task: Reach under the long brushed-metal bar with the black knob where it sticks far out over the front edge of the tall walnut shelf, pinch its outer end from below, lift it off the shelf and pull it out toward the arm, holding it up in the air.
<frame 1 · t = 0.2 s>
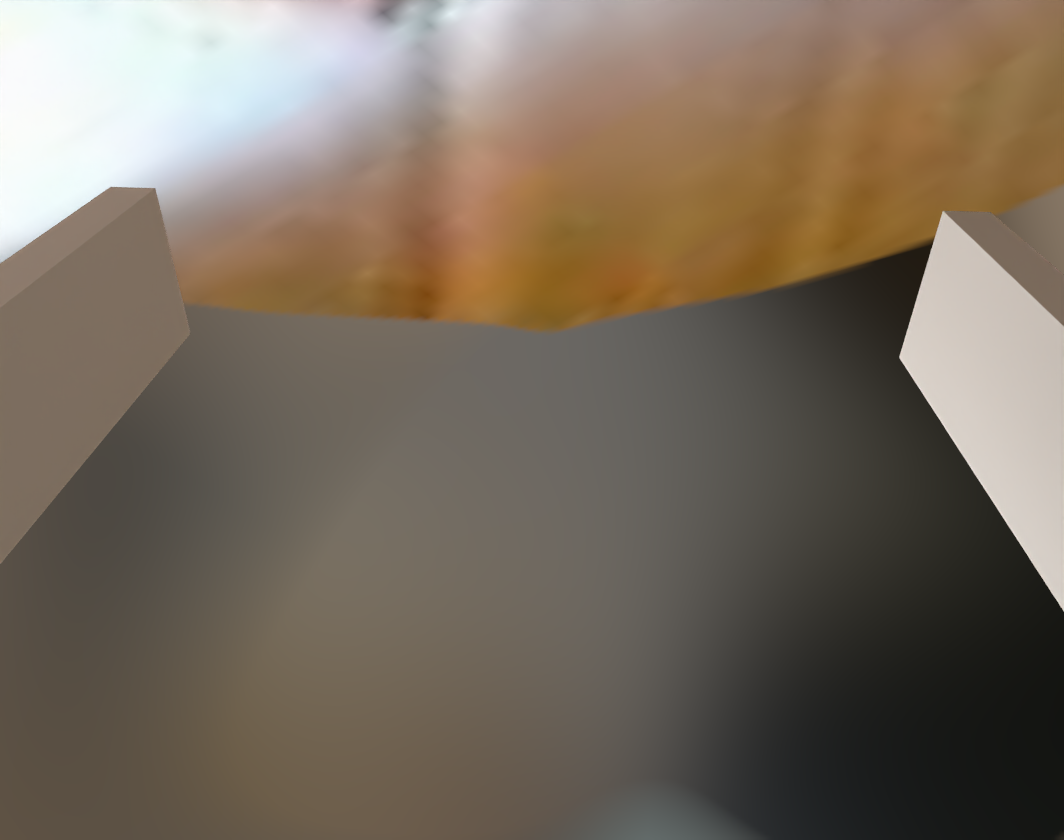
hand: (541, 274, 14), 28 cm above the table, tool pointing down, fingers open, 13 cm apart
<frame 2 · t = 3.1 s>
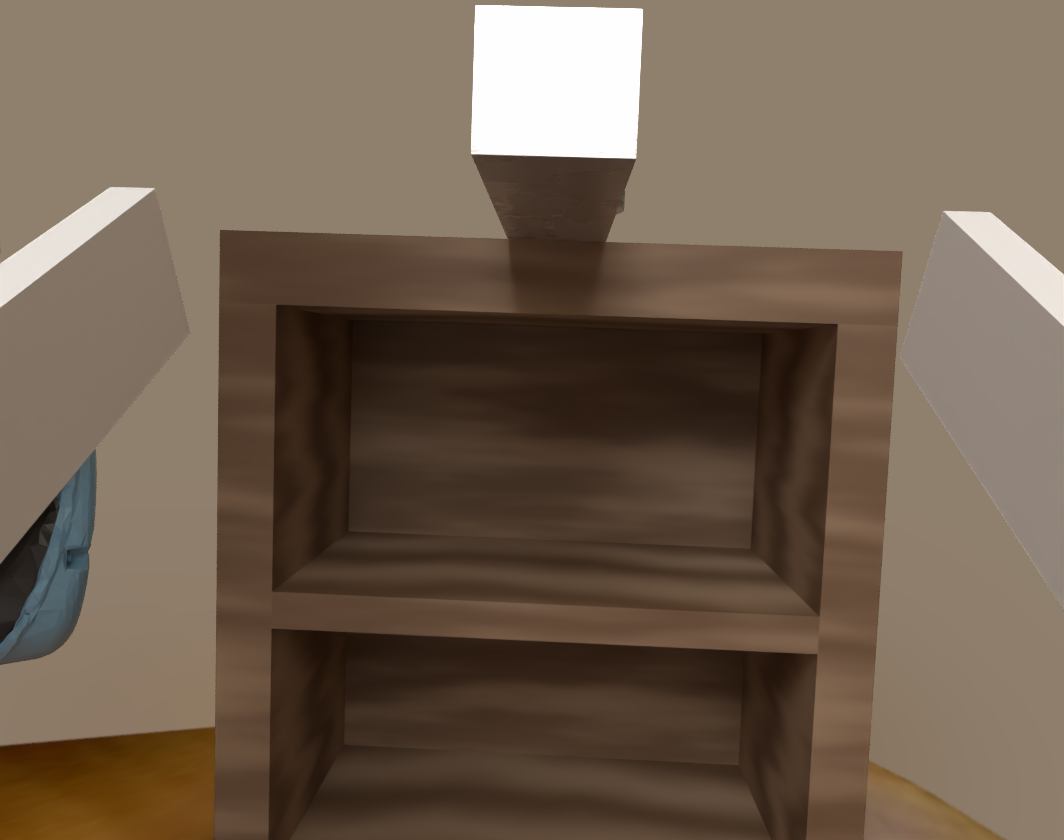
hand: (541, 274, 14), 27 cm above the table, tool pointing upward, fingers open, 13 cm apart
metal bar: (556, 244, 35), point 30 cm above the table, touching walnut shelf
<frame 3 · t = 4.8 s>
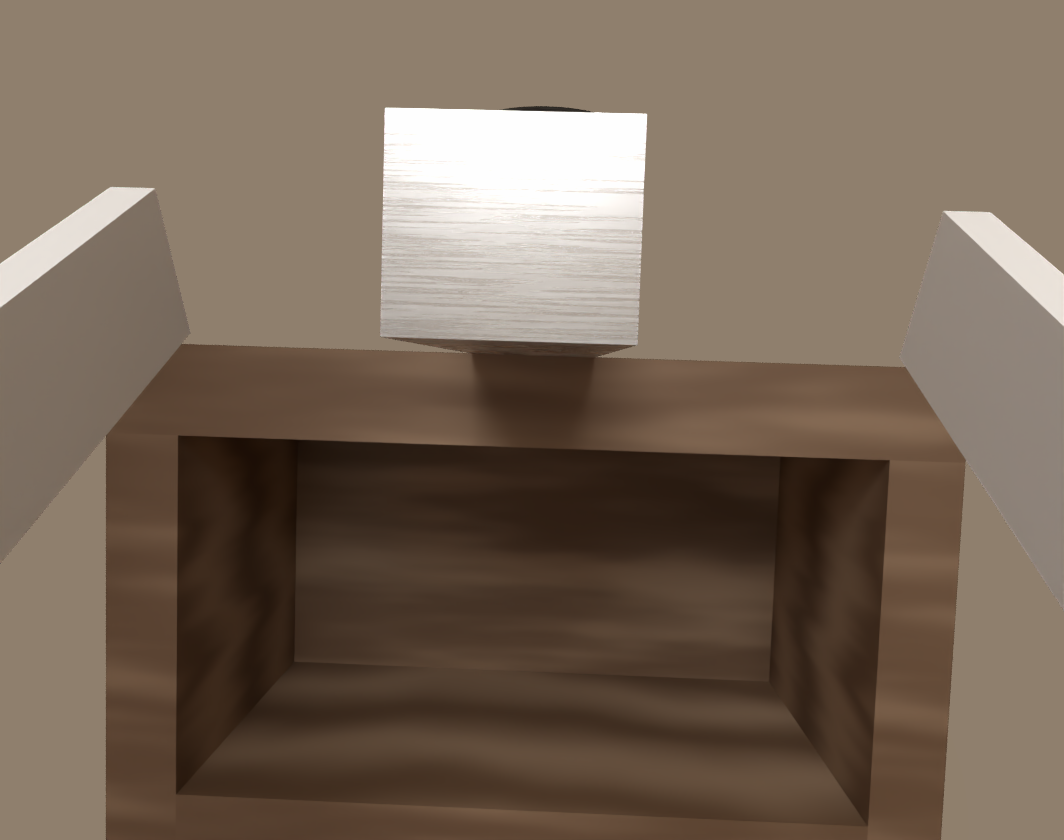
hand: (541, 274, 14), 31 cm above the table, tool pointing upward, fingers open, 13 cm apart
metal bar: (533, 355, 28), point 30 cm above the table, touching walnut shelf
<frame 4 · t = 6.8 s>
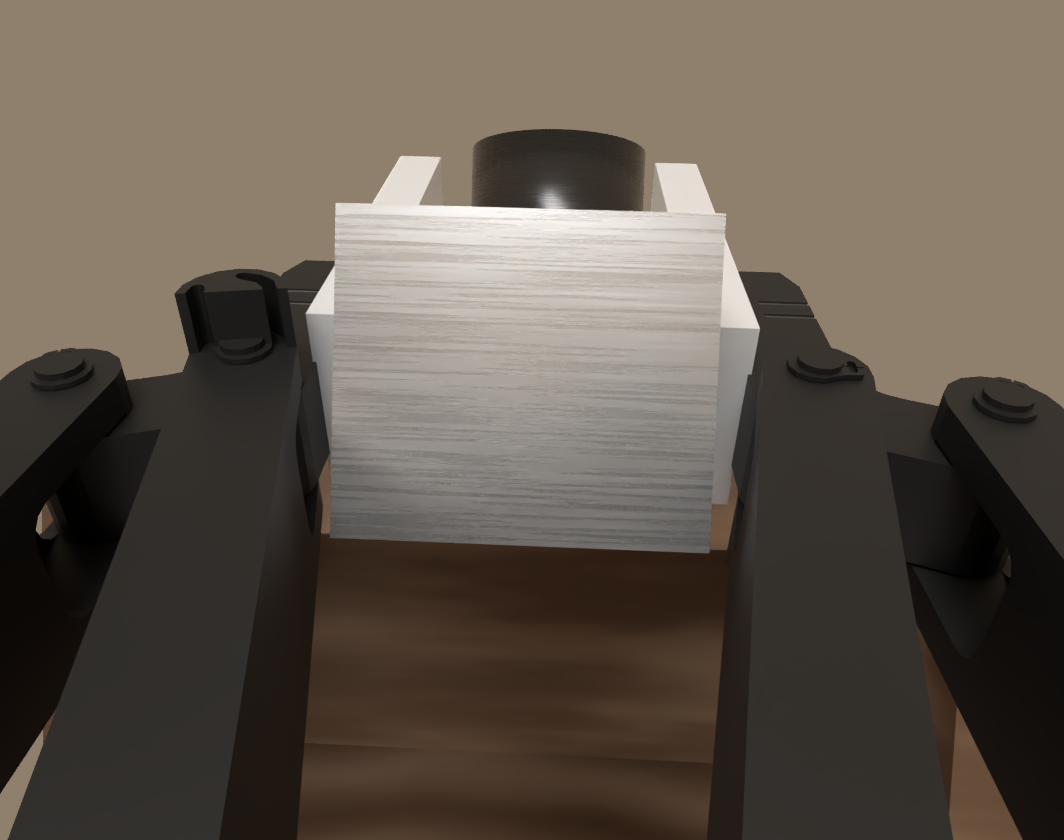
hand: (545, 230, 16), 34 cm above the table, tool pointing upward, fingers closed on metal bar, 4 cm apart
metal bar: (544, 431, 24), point 30 cm above the table, touching gripper, walnut shelf
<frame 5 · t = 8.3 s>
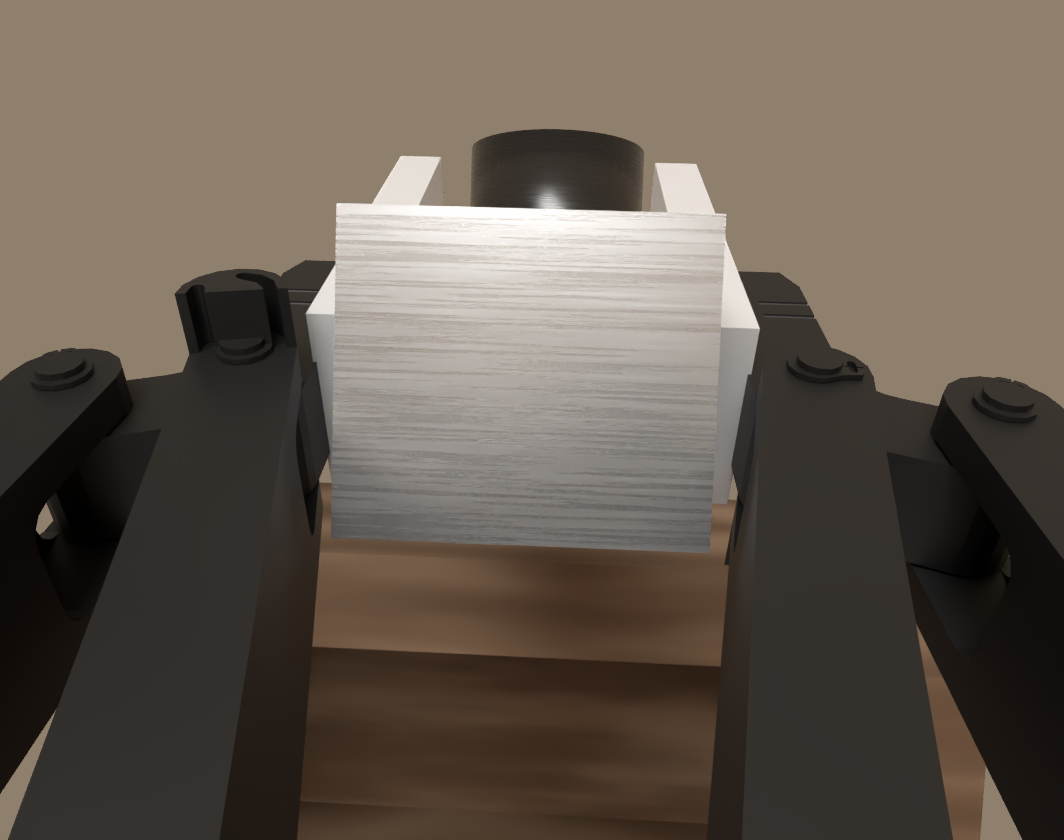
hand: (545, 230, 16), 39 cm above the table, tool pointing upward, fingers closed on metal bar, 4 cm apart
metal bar: (544, 431, 24), point 34 cm above the table, touching gripper
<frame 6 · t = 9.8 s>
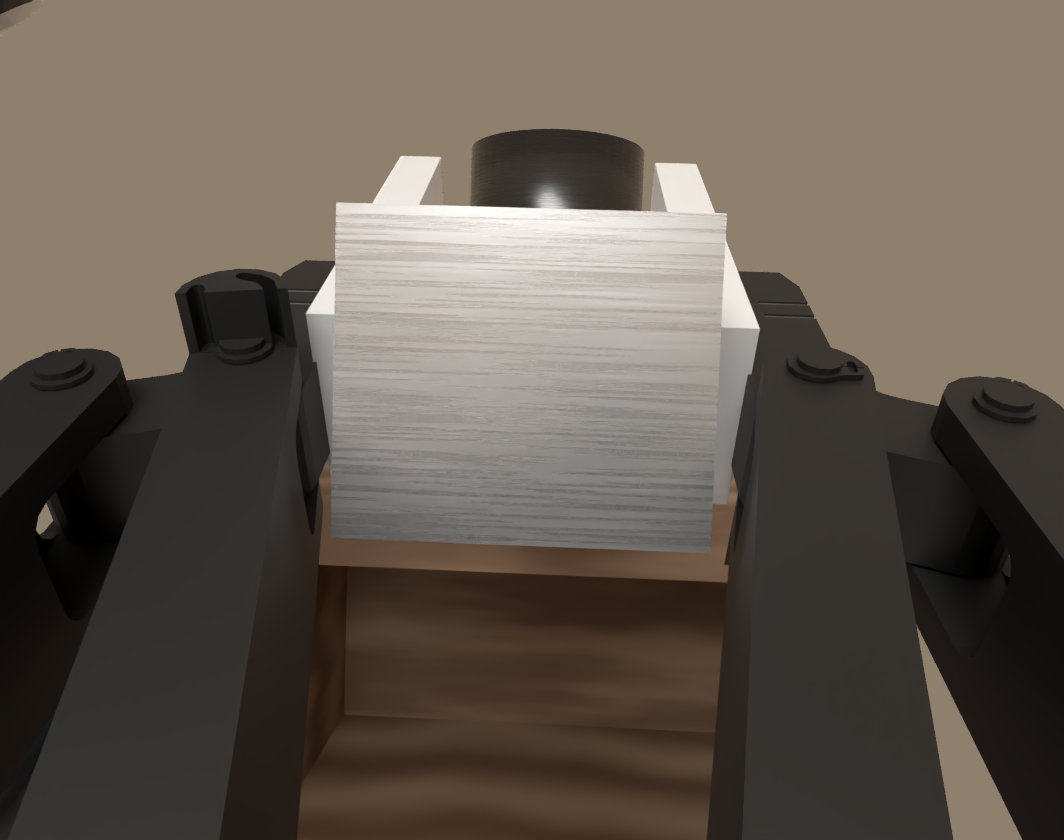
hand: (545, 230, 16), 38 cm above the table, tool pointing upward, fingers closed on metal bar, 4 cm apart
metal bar: (544, 431, 24), point 34 cm above the table, touching gripper
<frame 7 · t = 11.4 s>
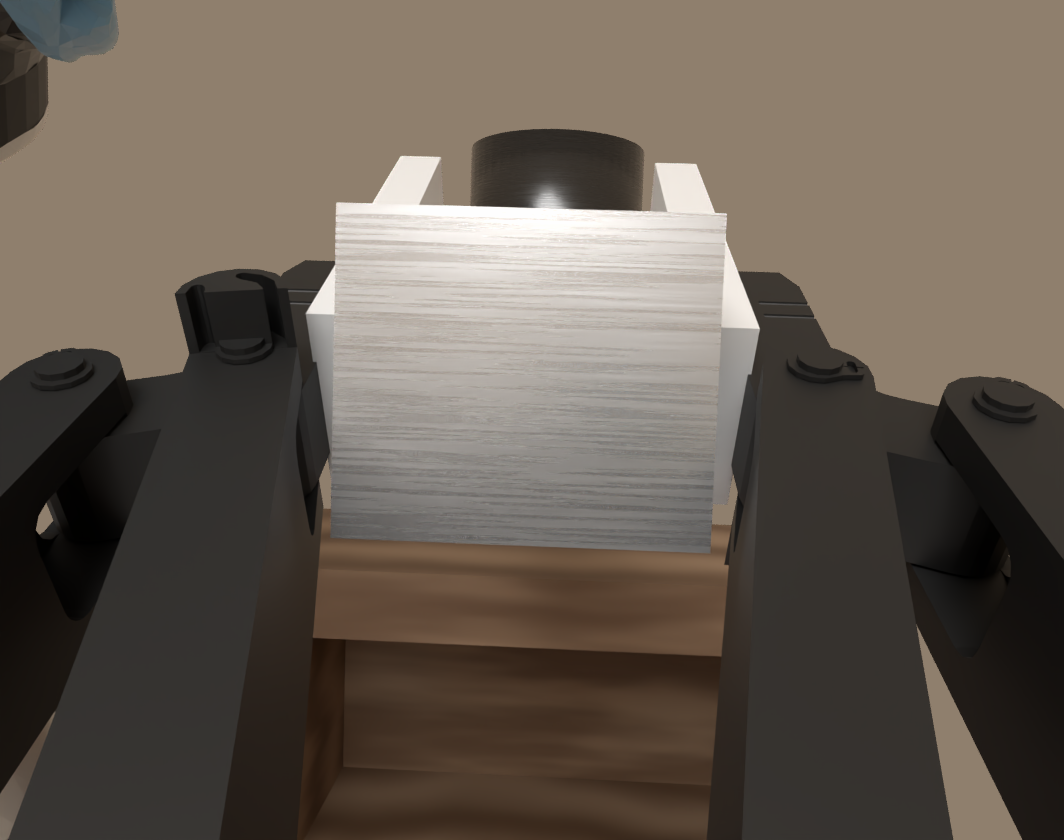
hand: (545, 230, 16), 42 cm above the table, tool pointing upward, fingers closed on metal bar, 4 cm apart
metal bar: (544, 431, 24), point 37 cm above the table, touching gripper
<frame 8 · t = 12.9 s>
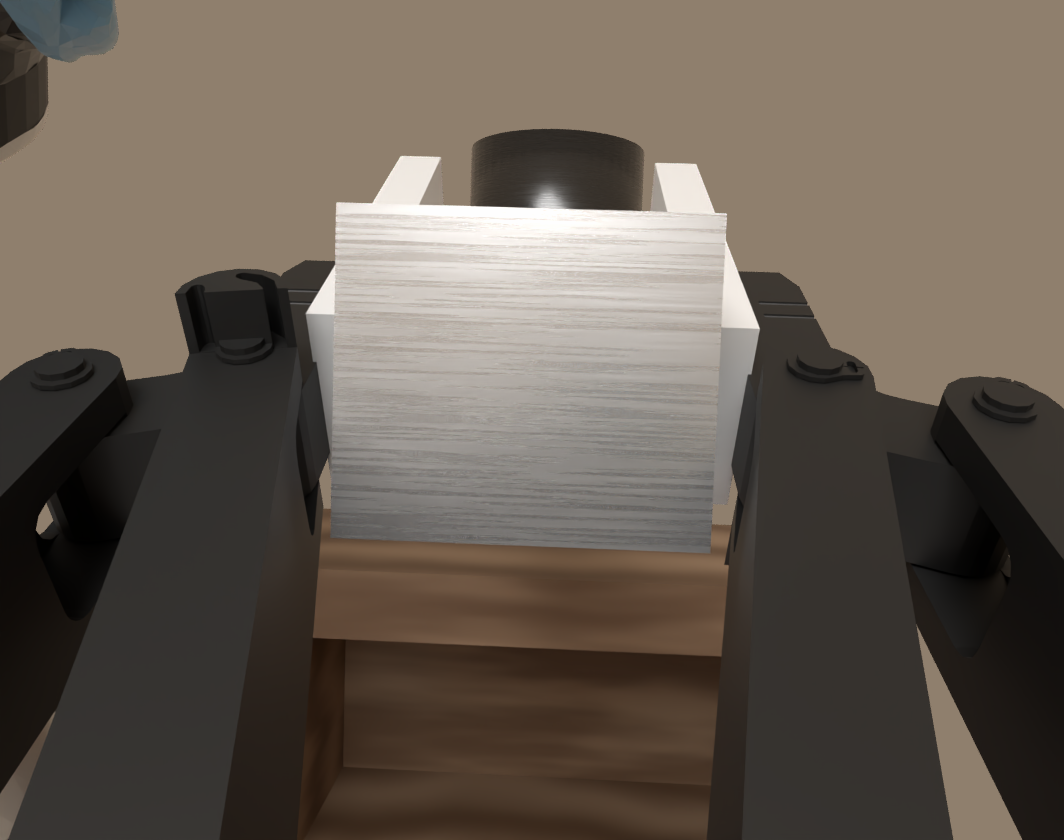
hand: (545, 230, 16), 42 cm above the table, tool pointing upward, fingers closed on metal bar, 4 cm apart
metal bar: (544, 431, 24), point 37 cm above the table, touching gripper
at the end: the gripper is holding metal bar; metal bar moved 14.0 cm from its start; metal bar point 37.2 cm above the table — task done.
